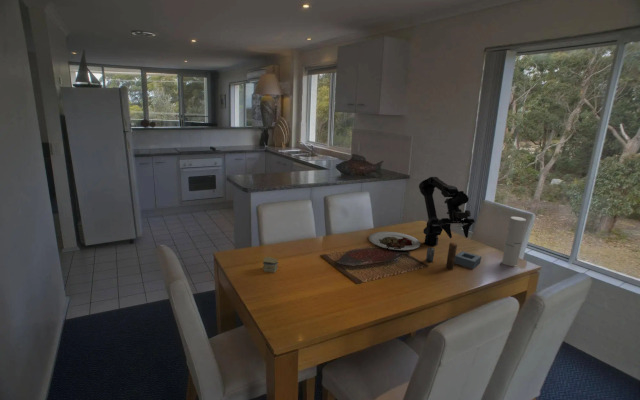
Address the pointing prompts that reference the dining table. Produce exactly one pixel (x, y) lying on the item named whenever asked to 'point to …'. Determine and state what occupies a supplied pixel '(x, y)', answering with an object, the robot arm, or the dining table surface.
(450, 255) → the tall walnut pin
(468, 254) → the hole block
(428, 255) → the short grey pin
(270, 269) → the grey lidded box
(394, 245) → the plated food
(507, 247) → the cylindrical container
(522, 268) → the dining table surface
